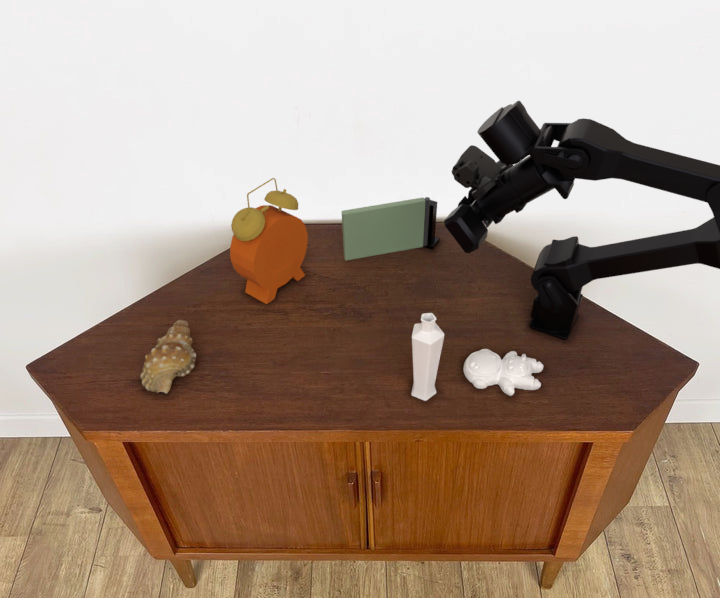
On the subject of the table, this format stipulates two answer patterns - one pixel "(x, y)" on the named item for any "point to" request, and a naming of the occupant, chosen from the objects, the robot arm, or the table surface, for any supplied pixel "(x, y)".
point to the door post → (432, 226)
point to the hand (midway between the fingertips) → (447, 226)
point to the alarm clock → (268, 244)
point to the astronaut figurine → (502, 371)
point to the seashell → (169, 359)
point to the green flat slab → (385, 228)
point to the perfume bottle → (426, 356)
